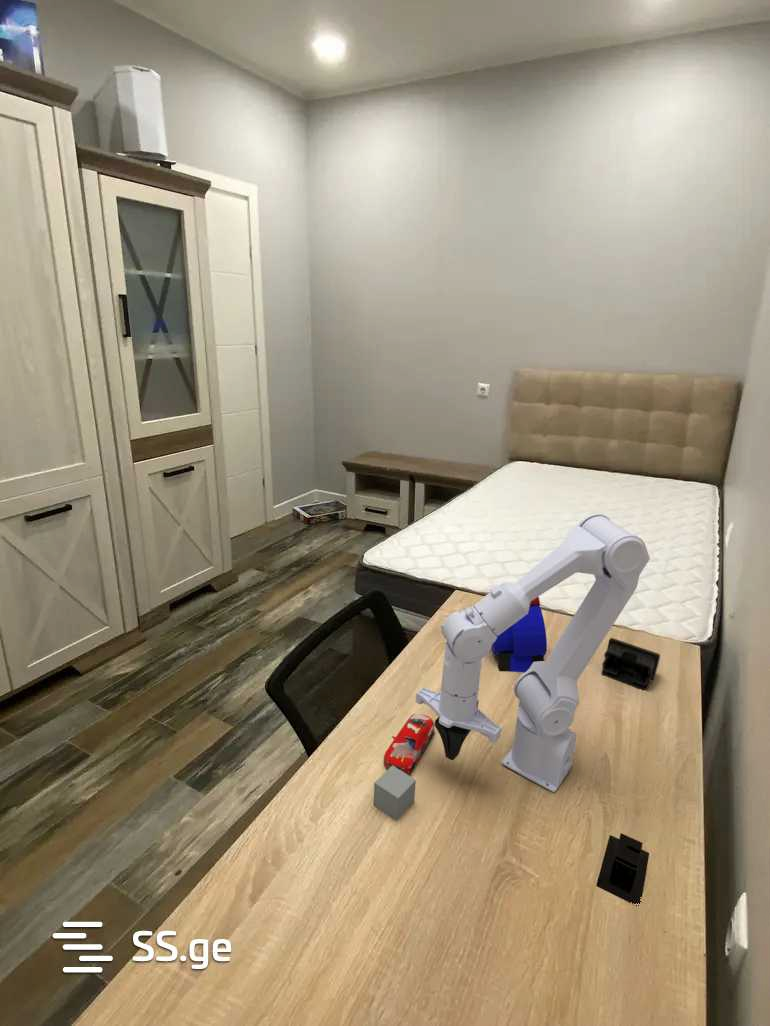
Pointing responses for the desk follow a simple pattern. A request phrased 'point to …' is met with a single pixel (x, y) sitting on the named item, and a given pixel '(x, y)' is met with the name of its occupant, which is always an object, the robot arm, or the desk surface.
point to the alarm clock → (522, 642)
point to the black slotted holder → (630, 664)
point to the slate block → (394, 792)
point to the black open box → (624, 868)
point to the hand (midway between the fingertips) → (452, 755)
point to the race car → (410, 743)
